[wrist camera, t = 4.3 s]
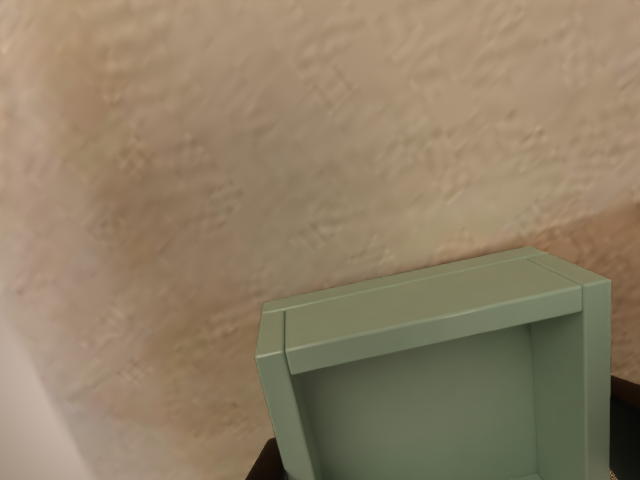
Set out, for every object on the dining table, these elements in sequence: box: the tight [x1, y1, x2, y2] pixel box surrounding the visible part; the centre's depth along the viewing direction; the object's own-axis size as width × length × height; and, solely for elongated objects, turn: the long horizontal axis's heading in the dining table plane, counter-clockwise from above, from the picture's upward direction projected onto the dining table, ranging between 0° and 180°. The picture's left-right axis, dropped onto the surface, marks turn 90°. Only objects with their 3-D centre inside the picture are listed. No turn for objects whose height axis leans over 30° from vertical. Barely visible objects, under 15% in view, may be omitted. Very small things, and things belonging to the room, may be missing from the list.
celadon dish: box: [254, 246, 612, 480], centre depth 8 cm, size 6×6×2 cm
